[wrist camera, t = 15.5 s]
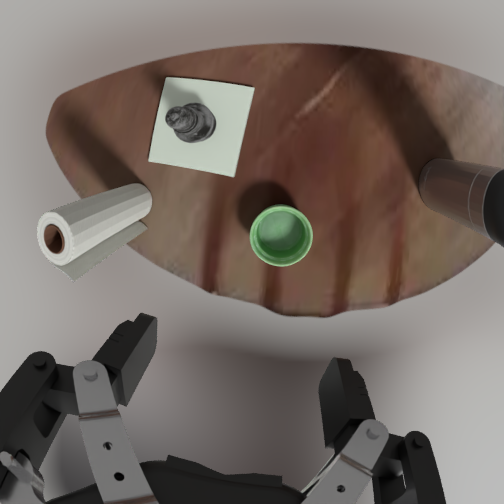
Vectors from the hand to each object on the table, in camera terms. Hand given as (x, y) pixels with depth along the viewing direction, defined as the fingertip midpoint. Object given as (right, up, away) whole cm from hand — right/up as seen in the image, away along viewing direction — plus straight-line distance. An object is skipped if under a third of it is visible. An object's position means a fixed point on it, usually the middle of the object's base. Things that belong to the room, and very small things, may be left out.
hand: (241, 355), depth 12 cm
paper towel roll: (-19, +13, +32) cm, 40 cm away
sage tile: (-7, +24, +27) cm, 37 cm away
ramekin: (+5, +8, +32) cm, 34 cm away
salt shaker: (-7, +23, +27) cm, 36 cm away
